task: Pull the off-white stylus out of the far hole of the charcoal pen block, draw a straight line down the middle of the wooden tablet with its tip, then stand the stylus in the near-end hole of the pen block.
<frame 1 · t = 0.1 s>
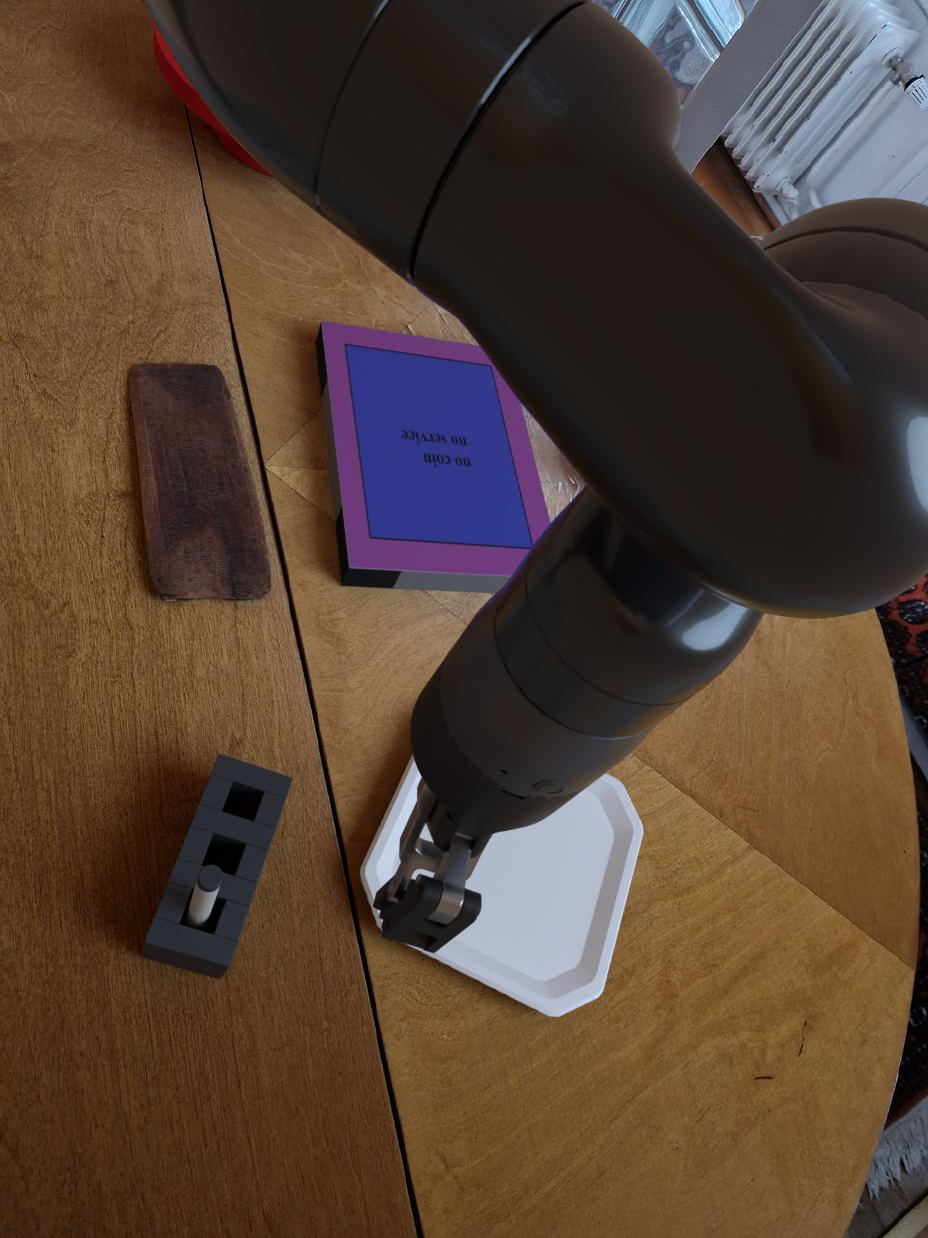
hand: (412, 828, 47), 22 cm above the table, tool pointing down, fingers open, 8 cm apart
stylus: (194, 926, 61), resting in pen block
bowl: (280, 141, 109), on the table
wooden tablet: (196, 479, 80), on the table
pen block: (215, 873, 64), on the table
book: (428, 465, 91), on the table
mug: (651, 506, 99), on the table
plate: (501, 856, 72), on the table
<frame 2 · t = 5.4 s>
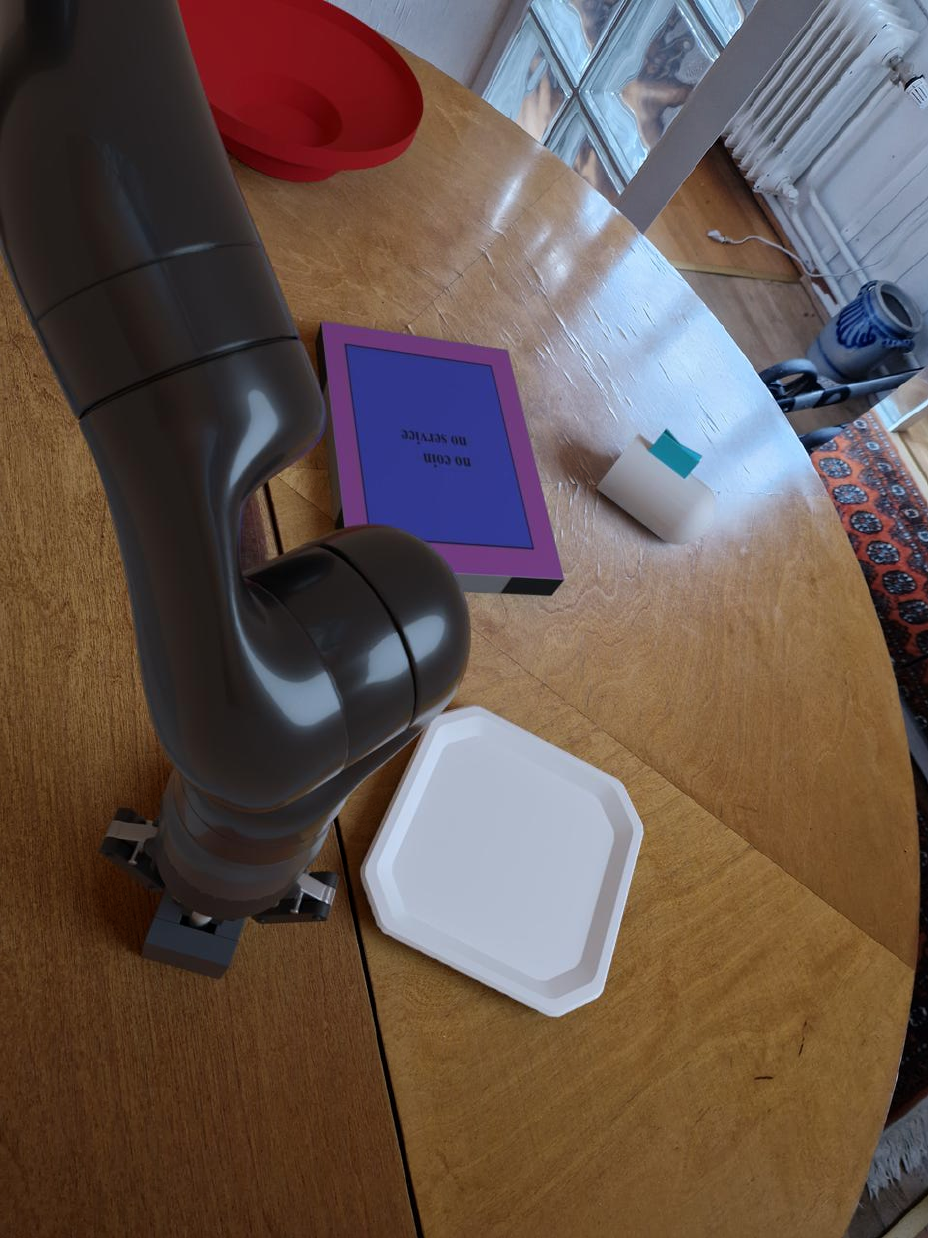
hand: (205, 904, 56), 7 cm above the table, tool pointing down, fingers closed on stylus, 1 cm apart
stylus: (195, 927, 61), resting in pen block, touching gripper
everything else where it was.
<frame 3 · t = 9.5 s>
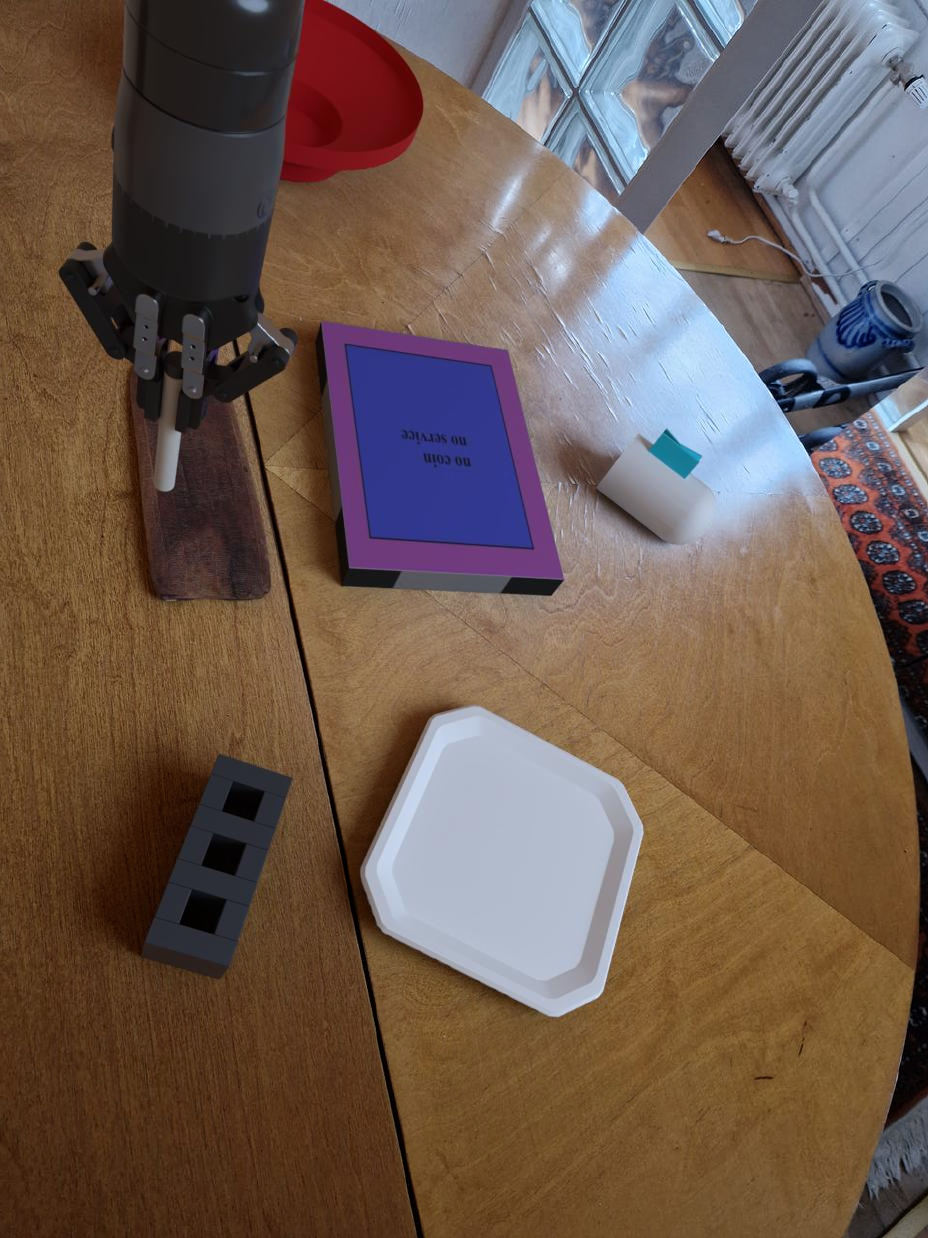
hand: (170, 417, 57), 21 cm above the table, tool pointing down, fingers closed on stylus, 1 cm apart
stylus: (163, 483, 62), point 14 cm above the table, touching gripper
everything else where it was.
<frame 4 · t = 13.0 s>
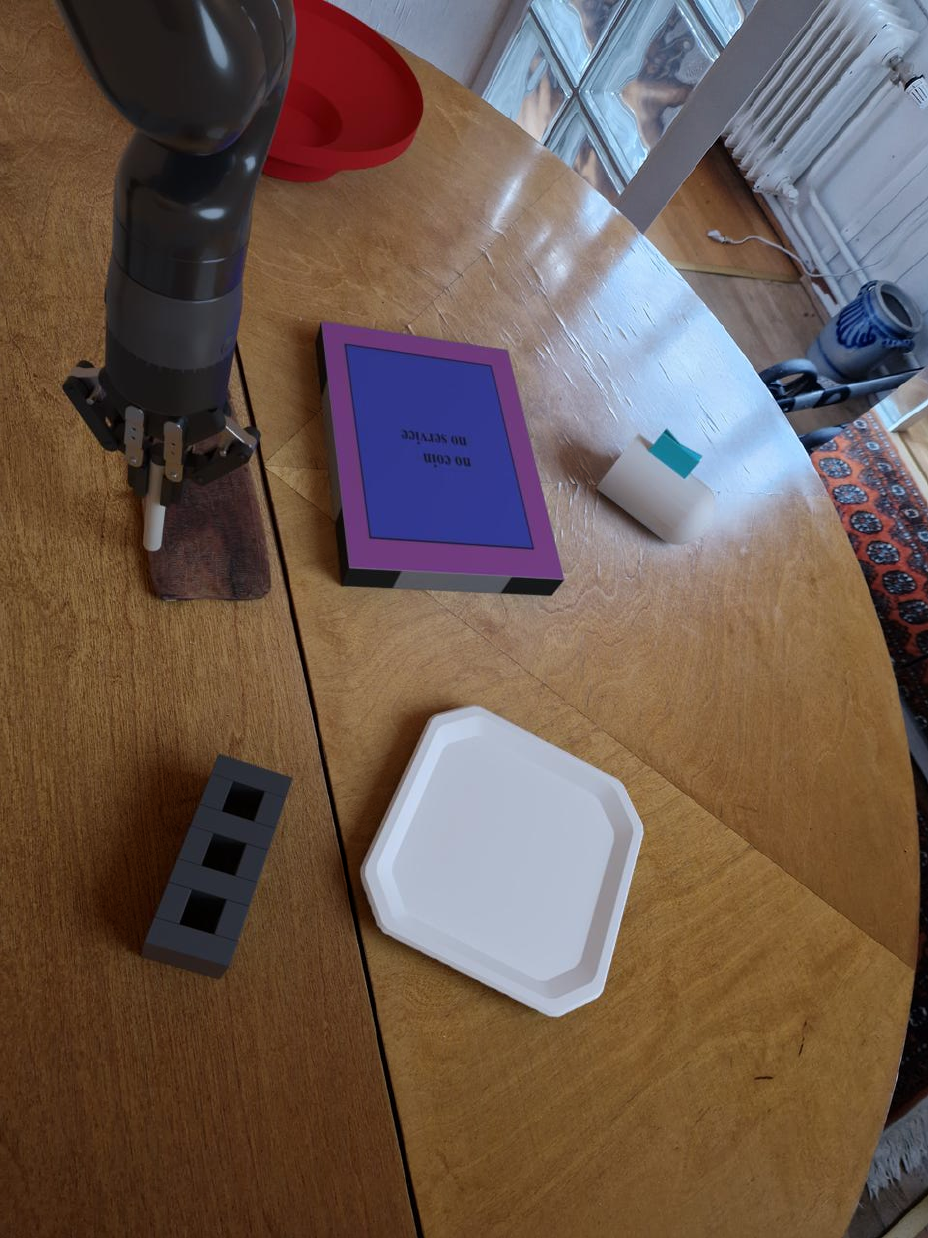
hand: (156, 493, 67), 9 cm above the table, tool pointing down, fingers closed on stylus, 1 cm apart
stylus: (152, 544, 73), point 2 cm above the table, touching gripper
everything else where it was.
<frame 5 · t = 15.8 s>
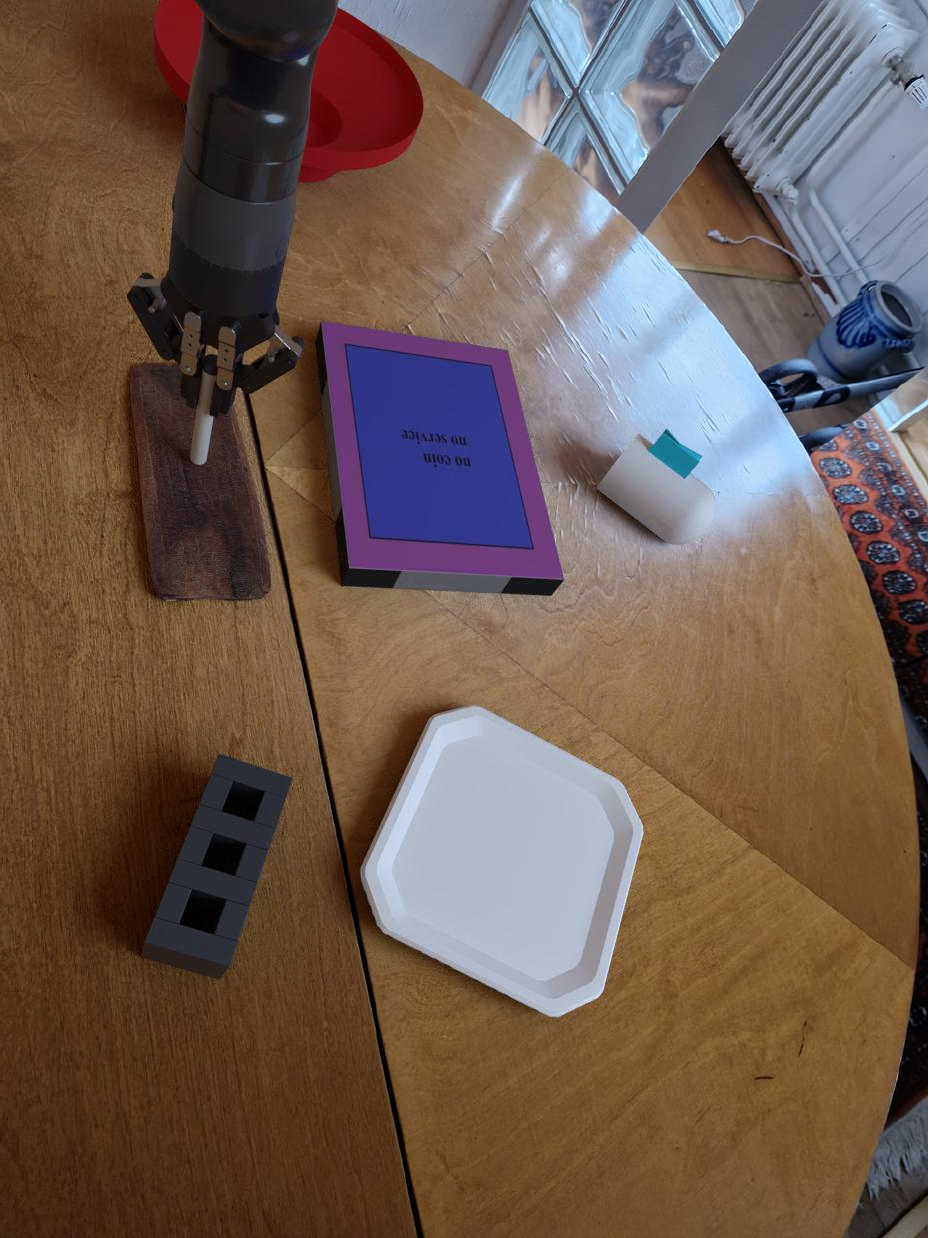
hand: (205, 404, 73), 9 cm above the table, tool pointing down, fingers closed on stylus, 1 cm apart
stylus: (198, 458, 78), point 2 cm above the table, touching gripper
everything else where it was.
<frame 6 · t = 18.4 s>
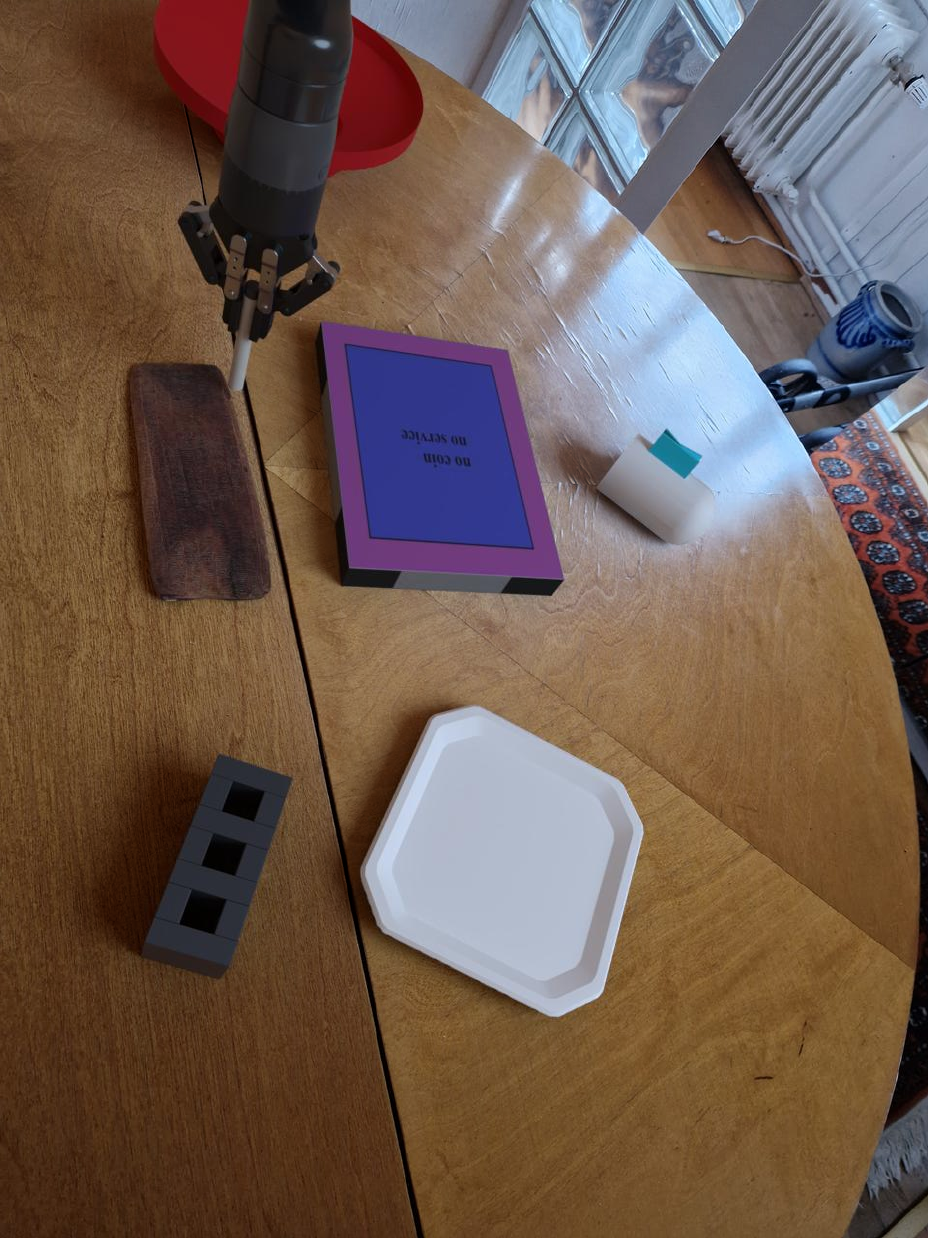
hand: (245, 330, 78), 9 cm above the table, tool pointing down, fingers closed on stylus, 1 cm apart
stylus: (235, 385, 84), point 2 cm above the table, touching gripper
everything else where it was.
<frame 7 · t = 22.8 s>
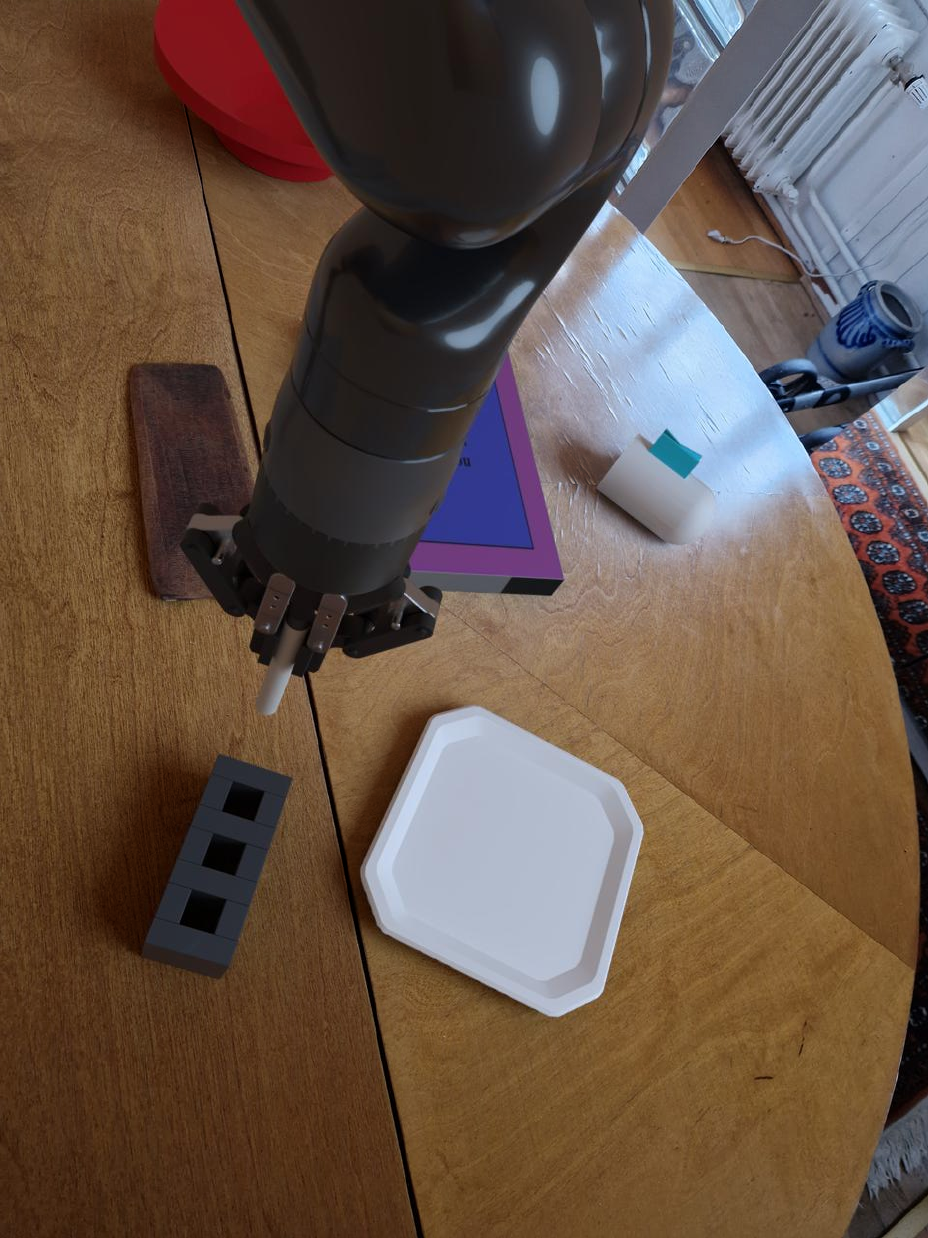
hand: (284, 656, 51), 21 cm above the table, tool pointing down, fingers closed on stylus, 1 cm apart
stylus: (266, 705, 56), point 14 cm above the table, touching gripper
everything else where it was.
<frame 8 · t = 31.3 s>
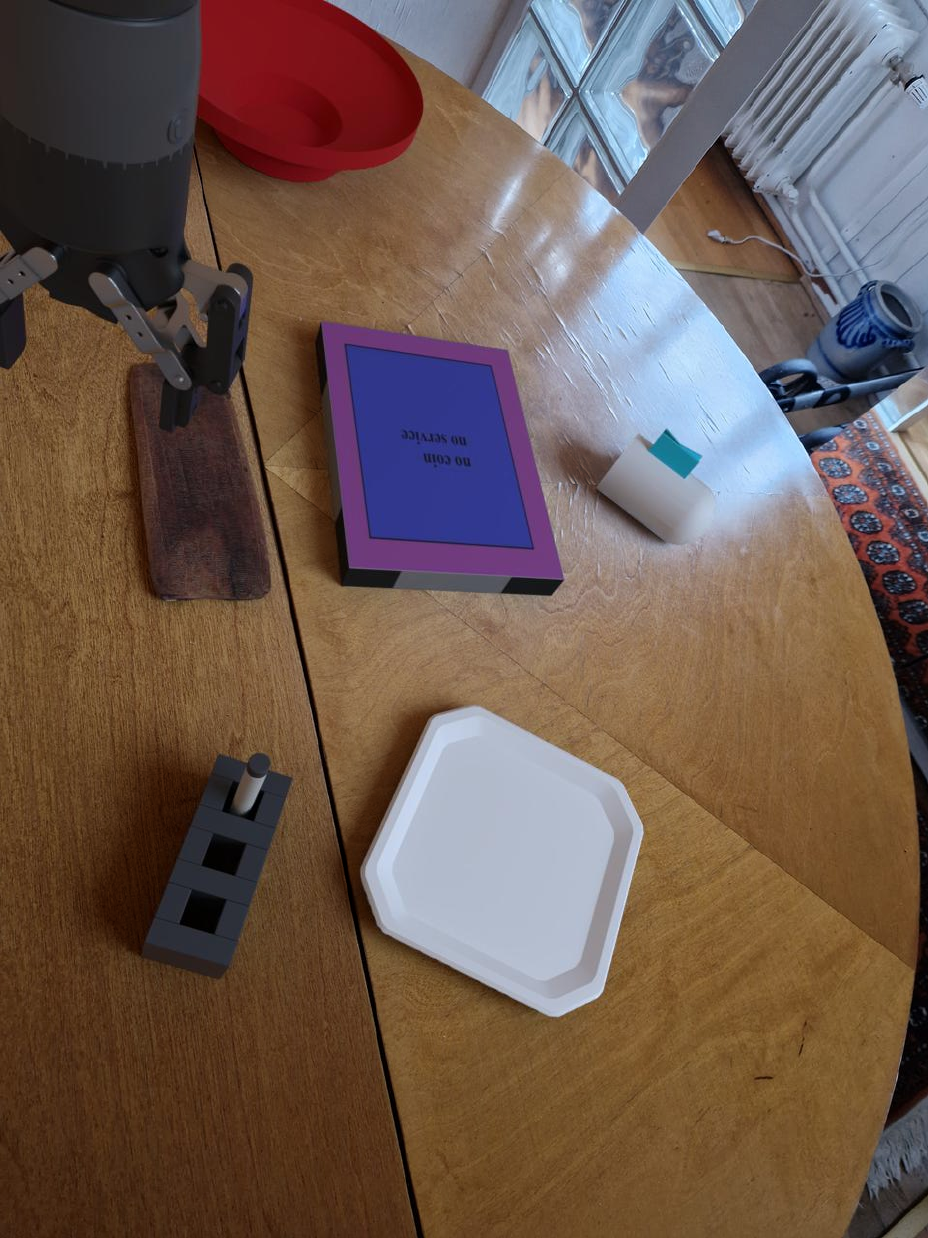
hand: (92, 389, 47), 28 cm above the table, tool pointing down, fingers open, 8 cm apart
stylus: (235, 821, 66), resting in pen block
everything else where it was.
at the end: stylus 0.1 cm from the target spot in the pen block, point 0.0 cm above the pen block's base; stylus tilted 0°; wooden tablet moved 0.2 cm from its start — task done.
